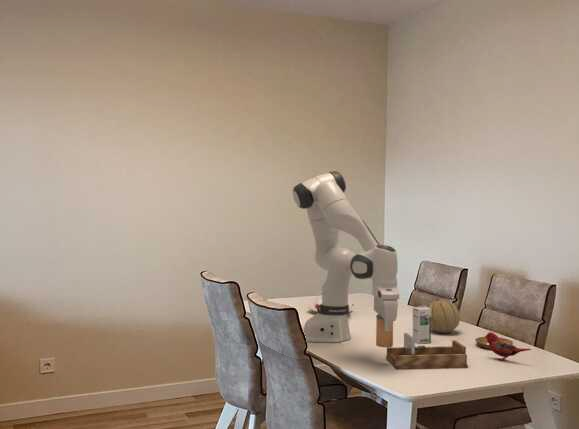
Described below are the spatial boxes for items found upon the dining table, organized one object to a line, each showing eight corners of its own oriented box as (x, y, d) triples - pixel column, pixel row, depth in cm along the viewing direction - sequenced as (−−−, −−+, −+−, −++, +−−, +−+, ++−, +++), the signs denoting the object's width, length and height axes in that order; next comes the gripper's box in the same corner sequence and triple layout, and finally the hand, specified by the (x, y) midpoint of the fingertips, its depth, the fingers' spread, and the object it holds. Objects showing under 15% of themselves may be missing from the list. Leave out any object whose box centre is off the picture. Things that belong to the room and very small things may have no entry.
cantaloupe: (458, 337, 271) (459, 303, 271) (423, 334, 276) (424, 300, 276) (460, 330, 285) (461, 297, 285) (427, 327, 290) (428, 295, 290)
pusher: (411, 363, 225) (411, 338, 225) (403, 357, 234) (404, 333, 234) (428, 363, 226) (429, 338, 225) (420, 356, 235) (420, 332, 235)
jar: (378, 347, 225) (378, 317, 224) (373, 343, 231) (374, 314, 230) (395, 347, 225) (395, 317, 225) (390, 343, 232) (390, 313, 231)
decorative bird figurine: (485, 356, 241) (486, 330, 240) (532, 365, 229) (533, 337, 229) (482, 358, 239) (482, 331, 238) (529, 366, 227) (530, 339, 227)
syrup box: (418, 343, 260) (419, 308, 259) (412, 340, 265) (412, 306, 265) (431, 343, 261) (431, 308, 261) (424, 339, 267) (425, 305, 266)
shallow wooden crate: (396, 369, 222) (397, 349, 222) (386, 358, 236) (386, 340, 236) (467, 367, 225) (468, 348, 225) (453, 357, 239) (453, 339, 239)
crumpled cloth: (342, 304, 341) (340, 287, 340) (370, 316, 308) (368, 297, 307) (301, 312, 334) (299, 296, 333) (326, 326, 301) (323, 307, 300)
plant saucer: (489, 353, 247) (489, 346, 247) (467, 344, 261) (467, 337, 261) (520, 350, 252) (521, 344, 252) (498, 341, 266) (498, 335, 266)
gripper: (369, 286, 237) (369, 322, 238) (382, 295, 217) (382, 335, 218) (386, 285, 238) (385, 322, 239) (400, 295, 218) (400, 334, 218)
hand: (384, 328), depth 228 cm, fingers closed on jar, 6 cm apart
